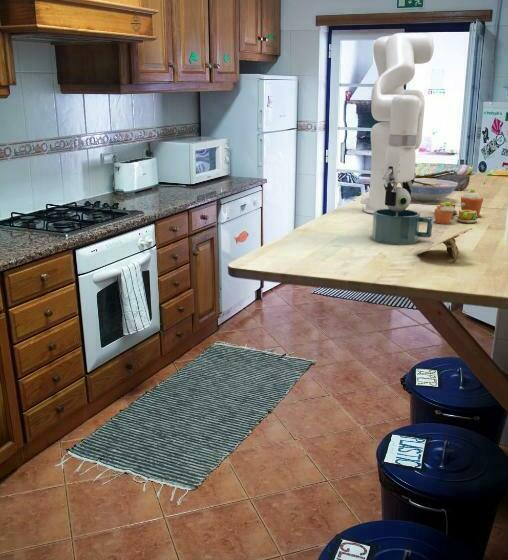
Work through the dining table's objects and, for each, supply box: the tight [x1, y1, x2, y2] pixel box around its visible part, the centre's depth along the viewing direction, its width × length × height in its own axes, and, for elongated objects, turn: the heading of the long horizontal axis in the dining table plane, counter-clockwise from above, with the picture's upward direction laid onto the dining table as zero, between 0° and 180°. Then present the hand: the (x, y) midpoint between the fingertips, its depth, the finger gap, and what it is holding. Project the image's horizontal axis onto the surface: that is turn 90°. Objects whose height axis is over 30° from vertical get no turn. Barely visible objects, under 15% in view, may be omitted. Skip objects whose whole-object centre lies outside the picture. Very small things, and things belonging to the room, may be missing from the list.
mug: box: [371, 209, 434, 246], centre depth 185 cm, size 17×13×8 cm
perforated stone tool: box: [436, 174, 471, 191], centre depth 286 cm, size 15×5×7 cm, turn 70°
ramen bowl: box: [399, 178, 458, 203], centre depth 255 cm, size 25×23×8 cm
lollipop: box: [387, 186, 412, 216], centre depth 184 cm, size 7×7×15 cm
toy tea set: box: [434, 188, 484, 225], centre depth 218 cm, size 26×16×10 cm, turn 158°
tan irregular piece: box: [420, 227, 473, 263], centre depth 165 cm, size 18×14×8 cm
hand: (397, 203), depth 183 cm, fingers closed on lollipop, 7 cm apart
